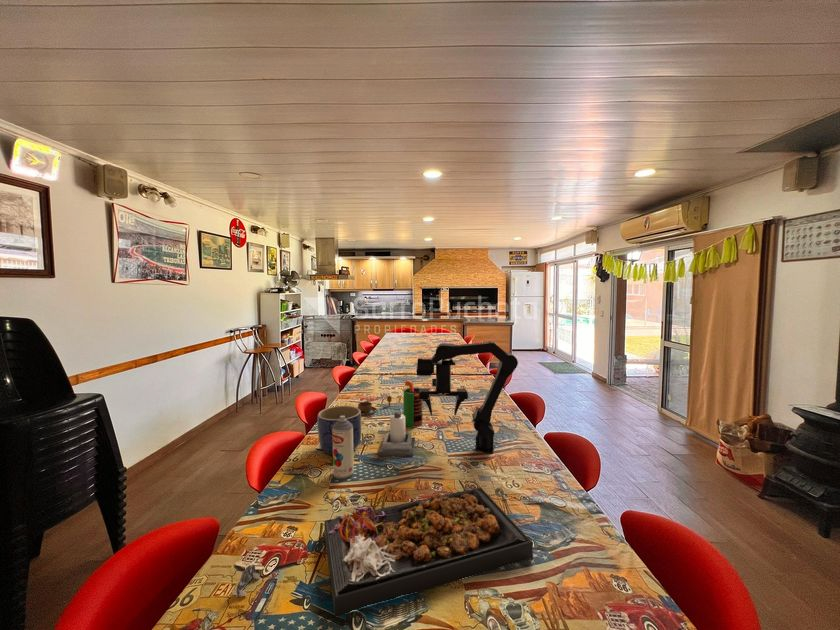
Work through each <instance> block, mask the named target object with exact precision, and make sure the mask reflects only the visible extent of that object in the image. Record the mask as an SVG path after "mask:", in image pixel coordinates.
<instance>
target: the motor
mask: <svg viewBox="0 0 840 630" xmlns="http://www.w3.org/2000/svg"><path fill="white" fill-rule="evenodd" d="M404 386H405V387H407V388H404V389H403V406H402V407H403V412H402V413H403V414H402V415H404V416H405V428H406V427H407V428H409V429H410V428H411V429H413V428H415V427H417V426H418V427H421V426H422V425H423V399H419V390H420V389H421V387H414V383H413V381H412V380H405V381H404ZM418 427H417V428H418Z"/></svg>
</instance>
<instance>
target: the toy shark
mask: <svg viewBox="0 0 840 630" xmlns="http://www.w3.org/2000/svg"><path fill="white" fill-rule="evenodd" d="M275 563H276V562H275ZM275 563H273V564H275ZM273 564H272V565H273ZM269 565H270V564H269ZM276 565H277V564H275V565H273V566H272V567H270V566H271V565H270V566H269V568H268V573H272V571H273V569H274V568H275V567H274V566H276ZM255 578H256V579H255ZM253 579H255V580H260V579H261V575H260V573H257V570H256V565H255V564H252V565H251V564H249V565H247V567H246V568H245V569H244V570H243V572H242V573H241V575H240V580H239V581H238V583H237V585H236V589H233V590H232V592H231V594H234V595H236V596H235V598H240V597H242V596H248V595H247V592H246V591H245V590H246V588H247V587H248V586H249V584H250V583H251V582H252V581H251V580H253ZM250 581H251V582H250ZM247 585H248V586H247ZM246 586H247V587H246ZM245 587H246V588H245ZM244 589H245V590H244ZM243 590H244V591H243ZM234 595H233V596H234ZM239 595H241V596H239Z"/></svg>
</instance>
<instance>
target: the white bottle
mask: <svg viewBox="0 0 840 630" xmlns="http://www.w3.org/2000/svg"><path fill="white" fill-rule="evenodd" d="M389 427H390V428H389V433H390V442H404V443H405V433H406V426H405V416H404V415H403V414H402V412H401V411H395V412H394V414H392V415H390V416H389Z"/></svg>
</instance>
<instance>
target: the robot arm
mask: <svg viewBox="0 0 840 630" xmlns="http://www.w3.org/2000/svg"><path fill="white" fill-rule="evenodd" d="M488 353H489V354H491V355H492V356H494V358H496V359H498V365H497V371H496V375H495V377H494V378H493V381H492V383H491V386H490V388H489V389H488V392H487V395H486V396H485V398H484V400H483V403H482V404H481V405H480V407H478V406H475V409H474V411H473V413H472V415H471V416H472V422H473V427H474V429H475V431H477V433H476V436H475V450H476V451H477V452H484V453H494V450H495V448H496V444H495V433H496V432H495V430H494V427H493V423H491V419H492V418H491V417H492V412H493V410H494V408H495V406H496V403H497V401H498V399H499V397H500V394H501V393H502V390H503V388H504V386H505V384H506V382H507V380H508V378H509V377H510V376H511V375H512V374H514V372H515V371H516V368H517V367H518V366H519V365H518V364H519V361H518V358H516V356H515V355H514V354H513V353H511V352H509V351H508V352H506V351H505V350H503V348H501V347H500V346H499V345H497V344H496V342H495V341H491V340H490V341H486V342H475V343H464V344H455V343H446V342H441V343H438V345H437V346H436V349H435V353H434V354H433V355H432V357H431V358H423V357H418V358H417V364H416V365H417V366H416V376H418V377H421V376H422V377H431V376H432V375H433V374H435V378H431V381H432V383H431V385H432V387H435V390H430V388H421V387H420V388H421V389H420V390H419V399H423V400H422V402H425V403H426V406H427V407H428V411H429V413H430V416H433V407H432V402H431V401H432V400H431V397H455V402H454V403H455V404H454V412H453V413H454V415H453V416H457V412H458V410H459V407H460V406H461V404H462V402H465V400H468V399H469V392H468V390H467V389H466V388H456V390H452V389H451V388H452V387H451V385H452V383H451V380H452V378H451V377H452V376H451V374H452V372H451V370H452V369H451V367H452V366H456V361H454V360H453V359H454V358H456V357H459V356H465V355H467V356H468V355H477V354H479V355H480V354H488Z"/></svg>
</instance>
